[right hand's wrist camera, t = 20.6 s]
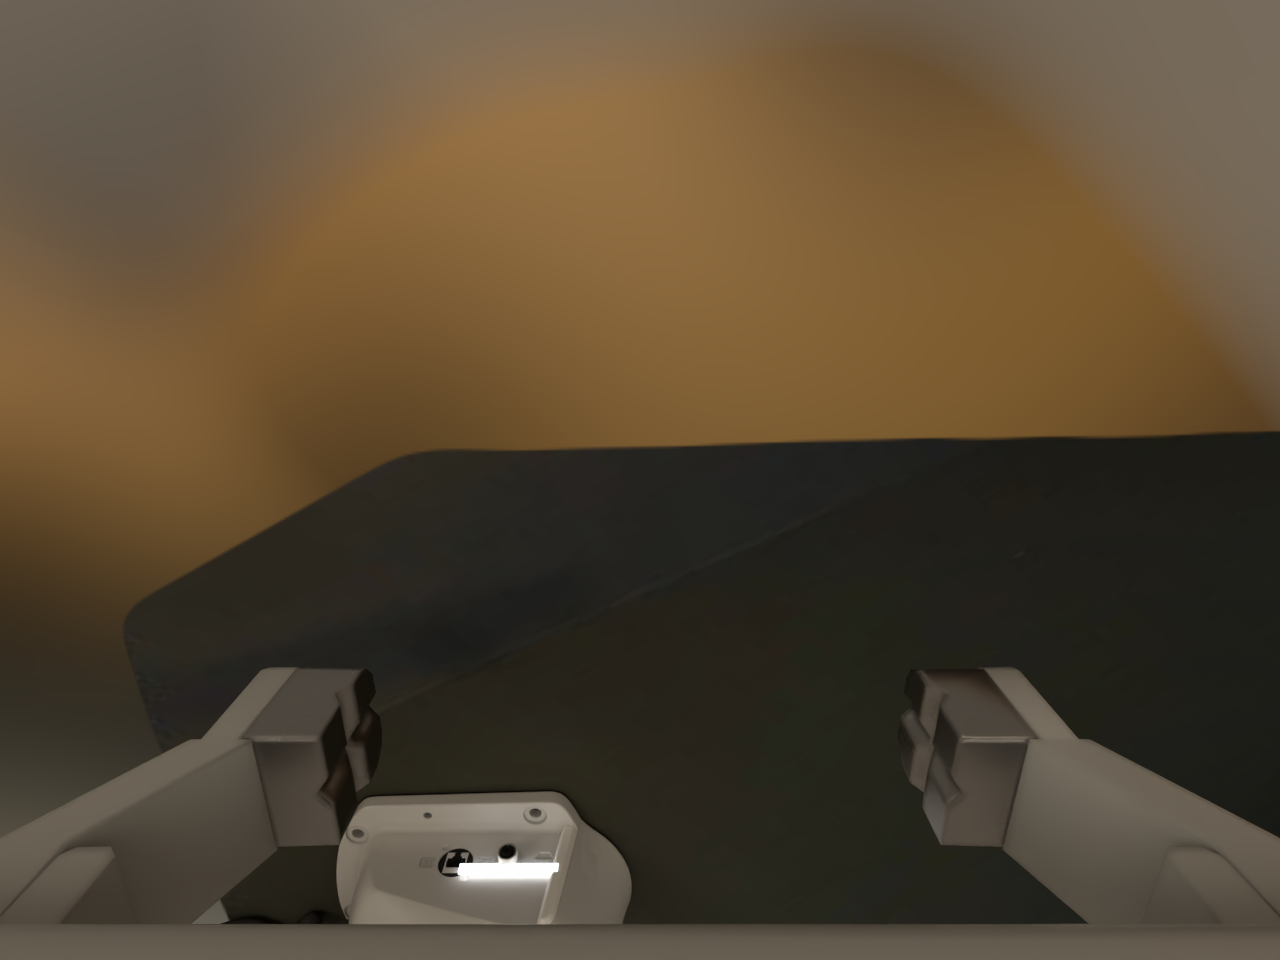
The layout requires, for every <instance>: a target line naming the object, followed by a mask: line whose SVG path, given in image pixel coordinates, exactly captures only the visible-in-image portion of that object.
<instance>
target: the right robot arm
mask: <svg viewBox="0 0 1280 960" xmlns="http://www.w3.org/2000/svg"><path fill="white" fill-rule="evenodd" d="M375 693H376V691H375V686H374V681H373V676H372V673H371V672H369V671H368V670H367V669H354V668H308V667H303V668H298V667H269V668H267V669H264V670H261V671H260V672H259V673H258V674H257V675H256V677H255V678H254V679H253V680H252V681H251V682H250V683H249V685H248V686H247V687H246V688H245V689H244V690H243V692H242V693H241V694H240V695H239V696H238V697H237V699H236V700H235V701H234V702H233V703H232V704H231V705H230V707H229V708H228V709H227V710H226V711H225V712H224V714H223V715H222V716H221V717H220V718H219V719H218V720H217V722H216V723H215V724H214V725H213V726H212V727H211V729H210V730H209V731H208V732H207V733H206V734H205V736H204V737H203V738H202V739H190V740H188V741H186V742H184V743H182V744H180V745H178V746H177V747H175V748H173V749H171V750H169V751H167V752H165V753H163V754H161V755H159V756H157V757H155V758H153V759H151V760H150V761H148V762H146V763H144V764H142V765H140V766H138V767H136V768H134V769H132V770H130V771H128V772H126V773H124V774H123V775H121V776H119V777H117V778H115V779H113V780H111V781H109V782H107V783H105V784H103V785H101V786H99V787H97V788H96V789H94V790H92V791H90V792H88V793H86V794H84V795H82V796H80V797H78V798H76V799H74V800H72V801H70V802H69V803H67V804H65V805H63V806H61V807H59V808H57V809H55V810H53V811H51V812H49V813H47V814H45V815H43V816H42V817H40V818H38V819H36V820H34V821H32V822H30V823H28V824H26V825H24V826H22V827H20V828H18V829H16V830H14V831H13V832H11V833H9V834H7V835H5V836H3V837H1V838H0V960H1280V838H1279V837H1277V836H1275V835H1273V834H1271V833H1269V832H1267V831H1265V830H1263V829H1261V828H1259V827H1257V826H1255V825H1254V824H1252V823H1250V822H1248V821H1246V820H1244V819H1242V818H1240V817H1238V816H1236V815H1234V814H1232V813H1230V812H1228V811H1227V810H1225V809H1223V808H1221V807H1219V806H1217V805H1215V804H1213V803H1211V802H1209V801H1207V800H1205V799H1203V798H1202V797H1200V796H1198V795H1196V794H1194V793H1192V792H1190V791H1188V790H1186V789H1184V788H1182V787H1180V786H1178V785H1177V784H1175V783H1173V782H1171V781H1169V780H1167V779H1165V778H1163V777H1161V776H1159V775H1157V774H1155V773H1153V772H1152V771H1150V770H1148V769H1146V768H1144V767H1142V766H1140V765H1138V764H1136V763H1134V762H1132V761H1130V760H1128V759H1126V758H1125V757H1123V756H1121V755H1119V754H1117V753H1115V752H1113V751H1111V750H1109V749H1107V748H1105V747H1103V746H1101V745H1100V744H1098V743H1096V742H1094V741H1092V740H1090V739H1078V738H1077V737H1076V736H1075V734H1074V733H1073V732H1072V731H1071V730H1070V729H1069V727H1068V726H1067V725H1066V724H1065V723H1064V722H1063V721H1062V719H1061V718H1060V717H1059V716H1058V715H1057V714H1056V712H1055V711H1054V710H1053V709H1052V708H1051V707H1050V706H1049V704H1048V703H1047V702H1046V701H1045V700H1044V699H1043V697H1042V696H1041V695H1040V694H1039V693H1038V692H1037V690H1036V689H1035V688H1034V687H1033V686H1032V685H1031V684H1030V682H1029V681H1028V680H1027V679H1026V678H1025V677H1024V675H1023V674H1022V673H1021V672H1020V671H1019V670H1017V669H1015V668H1013V667H990V668H977V669H915V670H910V672H909V674H908V676H907V679H906V684H905V690H904V693H905V695H906V697H907V699H908V700H909V702H910V704H911V707H910V708H909V709H908V710H907V711H906V712H905V713H904V714H903V715H902V716H901V717H900V723H899V731H898V741H899V752H900V757H901V761H902V764H903V768H904V770H905V772H906V775H907V777H908V779H909V781H910V783H912V784H913V785H915V786H916V787H917V788H919V789H920V790H921V791H923V792H924V797H923V803H922V808H923V810H924V812H925V814H926V816H927V818H928V820H929V822H930V824H931V826H932V828H933V830H934V832H935V834H936V836H937V838H938V840H939V842H940V844H941V845H963V846H998V847H1003V850H1004V851H1005V852H1006V853H1007V854H1008V855H1010V856H1011V857H1012V858H1013V859H1014V860H1015V861H1017V862H1018V863H1019V864H1020V865H1021V866H1022V867H1024V868H1025V869H1026V870H1027V871H1028V872H1029V873H1031V874H1032V875H1033V876H1034V877H1035V878H1036V879H1038V880H1039V881H1040V882H1041V883H1042V884H1043V885H1045V886H1046V887H1047V888H1048V889H1049V890H1050V891H1051V892H1053V893H1054V894H1055V895H1056V896H1057V897H1058V898H1060V899H1061V900H1062V901H1063V902H1064V903H1065V904H1067V905H1068V906H1069V907H1070V908H1071V909H1072V910H1074V911H1075V912H1076V913H1077V914H1078V915H1079V916H1081V917H1082V918H1083V919H1084V920H1085V921H1086V922H1088V923H1089V924H622V923H623V919H624V916H625V913H626V910H627V908H628V905H629V902H630V898H631V893H632V882H631V876H630V872H629V869H628V866H627V864H626V862H625V860H624V858H623V857H622V855H621V854H620V852H619V851H618V850H617V849H616V848H615V846H614V845H613V844H612V843H611V842H610V841H608V840H607V839H606V838H605V837H604V836H602V835H601V834H600V833H598V832H597V831H595V830H594V829H592V828H591V827H589V826H588V825H587V824H586V823H585V822H584V821H582V820H581V818H580V816H579V815H578V813H577V811H576V810H575V808H574V807H573V805H572V804H571V802H570V801H569V800H568V799H567V798H566V797H565V796H564V795H562V794H560V793H558V792H553V791H543V792H508V793H473V794H438V795H404V796H376V797H369V798H366V799H365V800H363V801H362V802H361V803H360V804H359V805H358V803H357V797H356V792H357V791H359V790H360V789H361V788H363V787H364V786H365V785H367V784H368V783H370V781H371V779H372V777H373V774H374V772H375V770H376V768H377V765H378V760H379V756H380V751H381V745H382V729H381V722H380V717H379V716H378V715H377V714H376V713H375V712H374V711H373V710H372V709H371V708H370V707H369V704H370V702H371V700H372V699H373V697H374V695H375ZM535 809H539V810H535ZM339 844H340V845H339ZM316 845H339V850H338V856H337V869H336V878H337V890H338V896H339V901H340V904H341V908H342V910H343V913H344V915H345V917H346V920H341V921H336V922H331V923H328V924H322V917H321V915H320V913H317V912H315V911H314V912H311V913H308V914H307V915H305V916H304V917H303V918H302V919H301V920H300V921H299V922H298V923H297V924H273V923H271V922H268V921H266V920H262V919H258V918H242V919H236V920H232V921H228V922H225V923H222V924H191V923H193V922H194V921H195V920H196V919H197V918H198V917H200V916H201V915H202V914H203V913H204V912H205V911H206V910H208V909H209V908H210V907H211V906H212V905H213V904H215V903H216V902H217V901H218V900H219V899H221V898H222V897H223V896H224V895H225V894H226V893H228V892H229V891H230V890H231V889H232V888H233V887H235V886H236V885H237V884H238V883H239V882H240V881H242V880H243V879H244V878H245V877H246V876H247V875H249V874H250V873H251V872H252V871H253V870H254V869H256V868H257V867H258V866H259V865H260V864H261V863H263V862H264V861H265V860H266V859H267V858H268V857H270V856H271V855H272V854H273V853H274V852H275V851H277V847H282V846H316Z"/></svg>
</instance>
